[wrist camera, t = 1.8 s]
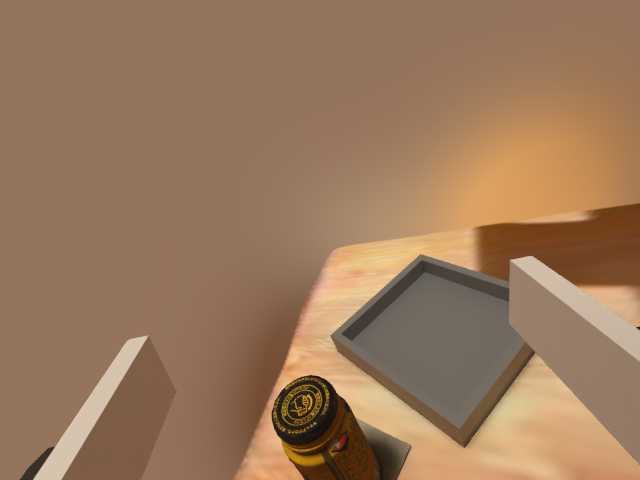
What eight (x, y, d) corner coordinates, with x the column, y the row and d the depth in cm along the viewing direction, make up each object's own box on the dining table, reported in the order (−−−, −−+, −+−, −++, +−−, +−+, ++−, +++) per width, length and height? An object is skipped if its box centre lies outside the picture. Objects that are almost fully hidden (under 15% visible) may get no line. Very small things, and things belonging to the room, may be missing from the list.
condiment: (301, 494, 32) (243, 423, 26) (349, 414, 37) (308, 339, 31) (366, 546, 27) (313, 473, 22) (411, 447, 32) (377, 365, 26)
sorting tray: (424, 270, 52) (420, 254, 50) (560, 317, 38) (559, 297, 36) (338, 351, 45) (330, 335, 43) (464, 447, 31) (459, 429, 29)
